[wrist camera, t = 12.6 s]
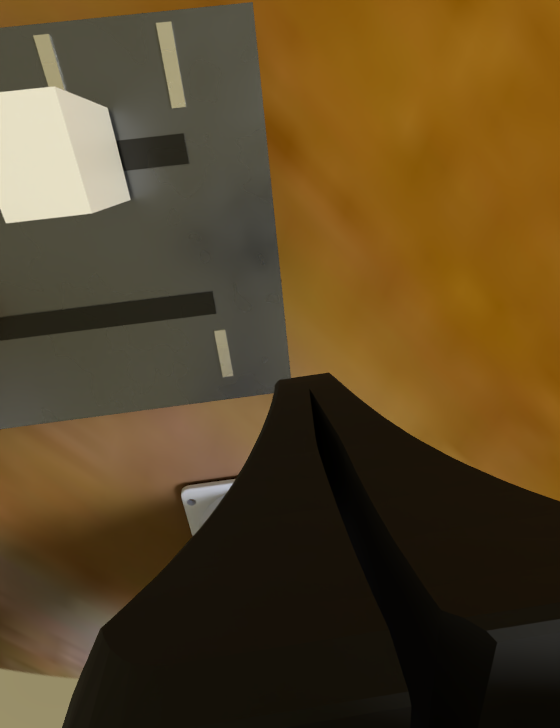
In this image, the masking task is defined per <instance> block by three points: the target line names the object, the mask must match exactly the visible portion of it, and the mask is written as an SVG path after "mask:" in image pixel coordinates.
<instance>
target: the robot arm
mask: <svg viewBox="0 0 560 728" xmlns="http://www.w3.org/2000/svg"><path fill="white" fill-rule="evenodd" d="M181 498H182V501H183V505H184V508H185V512H186V515H187V519H188V522H189V526H190V529H191V533H192V536H193V537H192V538H191V539H190V540H189V541H188V542H187V543H186V545H185V546H184V547H183V548H182V549H181V550H180V551H179V553H178V554H177V555H176V556H175V557H174V558H173V559H172V560H171V562H170V563H169V564H168V565H167V566H166V567H165V568H164V569H163V570H162V571H161V572H160V573H159V574H158V575H157V576H156V577H155V578H154V579H153V580H152V581H151V582H150V583H149V584H148V585H147V586H146V587H145V588H144V589H143V590H142V591H141V592H140V593H138V594H137V595H136V596H135V597H134V598H133V599H132V600H131V601H130V602H129V603H128V604H127V605H126V606H125V607H124V608H123V609H122V610H121V611H119V612H118V613H117V614H116V615H115V616H114V617H113V618H112V619H111V620H110V621H108V622H107V623H106V624H105V625H104V626H103V627H102V628H101V629H100V631H99V633H98V635H97V638H96V640H95V643H94V645H93V647H92V650H91V652H90V654H89V657H88V659H87V662H86V664H85V666H84V668H83V670H82V673H81V675H80V678H79V680H78V683H77V686H76V688H75V690H74V693H73V695H72V698H71V701H70V704H69V707H68V711H67V714H66V717H65V720H64V723H63V726H62V728H560V501H557V500H554V499H551V498H548V497H546V496H543V495H540V494H537V493H534V492H531V491H529V490H526V489H524V488H521V487H518V486H516V485H513V484H511V483H508V482H506V481H503V480H501V479H498V478H496V477H494V476H492V475H489V474H487V473H485V472H482V471H480V470H478V469H476V468H473V467H471V466H469V465H467V464H464V463H462V462H460V461H458V460H456V459H454V458H452V457H450V456H448V455H446V454H444V453H442V452H441V451H439V450H437V449H435V448H433V447H431V446H429V445H428V444H426V443H424V442H422V441H420V440H419V439H417V438H415V437H413V436H412V435H410V434H408V433H407V432H405V431H404V430H402V429H401V428H399V427H398V426H396V425H395V424H393V423H392V422H390V421H389V420H387V419H386V418H384V417H383V416H381V415H380V414H379V413H377V412H376V411H375V410H374V409H372V408H371V407H370V406H368V405H367V404H366V403H364V402H363V401H362V400H361V399H359V398H358V397H357V396H356V395H355V394H353V393H352V392H351V391H350V390H349V389H347V388H346V387H345V386H344V385H343V384H342V383H341V382H339V381H338V380H337V379H336V378H335V377H334V376H332V375H331V374H330V373H324V374H317V375H310V376H303V377H296V378H289V379H282V380H278V381H277V383H276V384H275V390H274V395H273V400H272V403H271V406H270V410H269V412H268V415H267V418H266V420H265V423H264V426H263V428H262V430H261V433H260V435H259V437H258V439H257V441H256V443H255V445H254V447H253V449H252V451H251V453H250V455H249V457H248V459H247V461H246V463H245V464H244V466H243V468H242V470H241V471H240V473H239V475H238V476H237V478H236V479H230V480H223V481H216V482H209V483H201V484H194V485H188V486H185V487H184V488H183V489H182V492H181ZM189 499H194V500H193V501H191V500H189Z"/></svg>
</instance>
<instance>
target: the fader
mask: <svg viewBox="0 0 560 728" xmlns="http://www.w3.org/2000/svg"><path fill="white" fill-rule="evenodd" d="M129 200H131V199H130V195H129V191H128V187H127V183H126V179H125V175H124V171H123V167H122V163H121V159H120V155H119V151H118V147H117V143H116V139H115V135H114V131H113V127H112V123H111V120H110V116H109V112H108V108H107V107H104V106H102V105H100V104H97V103H95V102H92V101H90V100H87V99H85V98H82V97H80V96H77V95H75V94H72V93H70V92H67V91H65V90H62V89H60V88H57V87H55V86H53V87H44V88H34V89H25V90H16V91H6V92H0V210H1V212H2V215H3V217H4V220H5V222H6V223H14V222H23V221H31V220H40V219H49V218H57V217H66V216H74V215H83V214H92V213H95V212H98V211H100V210H103V209H106V208H109V207H112V206H115V205H118V204H120V203H123V202H126V201H129Z"/></svg>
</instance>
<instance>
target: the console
mask: <svg viewBox="0 0 560 728" xmlns="http://www.w3.org/2000/svg"><path fill="white" fill-rule="evenodd" d="M53 86H55V87H57V88H60V89H62V90H65V91H67V92H70V93H72V94H75V95H77V96H80V97H82V98H85V99H87V100H90V101H92V102H95V103H97V104H100V105H102V106H104V107H107V108H108V112H109V116H110V120H111V123H112V127H113V131H114V135H115V139H116V143H117V147H118V151H119V155H120V159H121V163H122V167H123V171H124V175H125V179H126V183H127V187H128V191H129V195H130V199H131V200H129V201H126V202H123V203H120V204H118V205H115V206H112V207H109V208H106V209H103V210H100V211H98V212H95V213H92V214H83V215H74V216H66V217H57V218H49V219H40V220H31V221H23V222H14V223H6V222H5V220H4V217H3V215H2V212H1V210H0V429H5V428H12V427H20V426H27V425H35V424H43V423H50V422H58V421H65V420H73V419H81V418H88V417H96V416H103V415H111V414H118V413H126V412H134V411H141V410H149V409H156V408H164V407H172V406H179V405H187V404H194V403H202V402H209V401H217V400H225V399H232V398H240V397H247V396H255V395H263V394H270V393H274V390H275V384H276V383H277V381H278V380H282V379H289V378H291V375H290V365H289V355H288V346H287V336H286V326H285V316H284V306H283V297H282V287H281V277H280V267H279V257H278V247H277V238H276V228H275V218H274V208H273V198H272V189H271V179H270V169H269V159H268V149H267V140H266V130H265V120H264V110H263V100H262V90H261V81H260V71H259V61H258V51H257V41H256V32H255V22H254V12H253V2H251V3H241V4H231V5H221V6H211V7H201V8H192V9H182V10H172V11H162V12H152V13H142V14H132V15H123V16H113V17H103V18H93V19H83V20H73V21H64V22H54V23H44V24H34V25H24V26H14V27H5V28H0V92H6V91H16V90H25V89H34V88H44V87H53Z"/></svg>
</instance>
